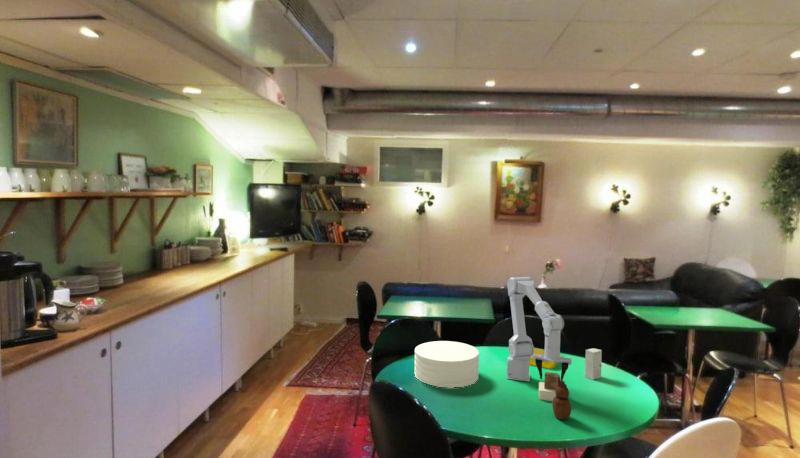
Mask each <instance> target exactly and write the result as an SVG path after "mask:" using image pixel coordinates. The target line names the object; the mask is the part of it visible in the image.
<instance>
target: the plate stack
mask: <svg viewBox="0 0 800 458" xmlns="http://www.w3.org/2000/svg"><path fill="white" fill-rule="evenodd" d="M479 363H480V351H479V349H478V348H476V347H475V346H473V345H470V344H468V343H464V342H459V341H452V340H451V341H450V340H437V341H434V340H433V341H428V342H424V343H421V344H418V345H417V346H415V348H414V368H413V369H414V374H415V376H414V378H415V377H416V378H417V379H419V380H420V381H422V382H424V383H427V384H430V385H434V386H438V387H448V388H447V389H455V388H454V387H462V388H465V387H464V386H467V387H469V386H468V385H470V386H472V385H471V384H473V385H474V384H476V383H477V382H478V381H479V372H480V371H479V369H480V368H479V367H480V366H479ZM416 378H415V379H416ZM417 379H416V380H417ZM477 380H478V381H477ZM476 381H477V382H476ZM475 382H476V383H475ZM438 387H437V388H438Z"/></svg>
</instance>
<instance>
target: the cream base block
mask: <svg viewBox="0 0 800 458" xmlns="http://www.w3.org/2000/svg"><path fill="white" fill-rule="evenodd" d="M555 396H556V394H555V390H551V389H544V382H543V381H539V382H538V400H539V401H549V402H553V398H554V397H555Z"/></svg>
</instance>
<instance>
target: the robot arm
mask: <svg viewBox="0 0 800 458" xmlns="http://www.w3.org/2000/svg"><path fill="white" fill-rule="evenodd" d="M506 285H507V295H508V297H509V301H510V311H511V320H512V321H511V322H512V329H513V335H512V337H511V338H510V339H509V340H508V353H509V356H507V362H506V363H507V364H506V365H507V366H506V379H507V380H508V379H509V380H515V381H521V382H530V381H531V380H530V379H531V374H530V365H529V362H530V358H531V356H532V355H533V360H534V361H535V360H536V362H535V363H536V366H535V367H537V368H536V369H537V371H538V373H539V379H540V380H543V368H542V361H548V362H556V363H559V364H561V374H560V379H561V378H563V379H564V377H565V375H566V372H567V371H568V368H569V365H570V366H571V365H572V364H573V363H572V362H573V361H572V358H570V357H565V356H562V355H561V356H560V354H561V351H560V350H561V332H562V330H563V329H564V327H565V320H564V318H563V317H562V315H561V314H557V313H555V311H554V310H553V309H552V307H551V305H550V304H549V302H547V301H544V300H542V298H541V296H540V294H539V292H538V291H537V290H536V288H535V280H533V278H532V277H531V276H522V277H521V276H518V277H515V276H513V277H512V276H511V277H510V278H509V279H508V280H507V282H506ZM525 296H526V297H527V298H529V301H531V302H532V304H533V305H534V311H535V312H536V314H537V315H538V316H539V318H540V319H541V323H542V328H543V334H544V350H545V355H538V354H534V348H535V346H534V344H533V340H532V338H531V337H530V336H529V335H527V330H526V321H525V311H524V304H523V303H524V302H523V298H524V297H525Z"/></svg>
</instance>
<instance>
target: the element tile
mask: <svg viewBox="0 0 800 458" xmlns="http://www.w3.org/2000/svg"><path fill="white" fill-rule="evenodd" d="M534 354H538V355H545V349H543V348H538V347H534ZM560 356H561V357H562V354H561V353H560ZM535 362H536V360H535V361H534V360H533V355H532V356H531V358H530V362H529V366H532V367H537V366H536V363H535ZM558 365H560V363H556V362H548V361H542V369H546V370H547V369H548V370H553V369H555V368H556V367H557V366H558Z"/></svg>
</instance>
